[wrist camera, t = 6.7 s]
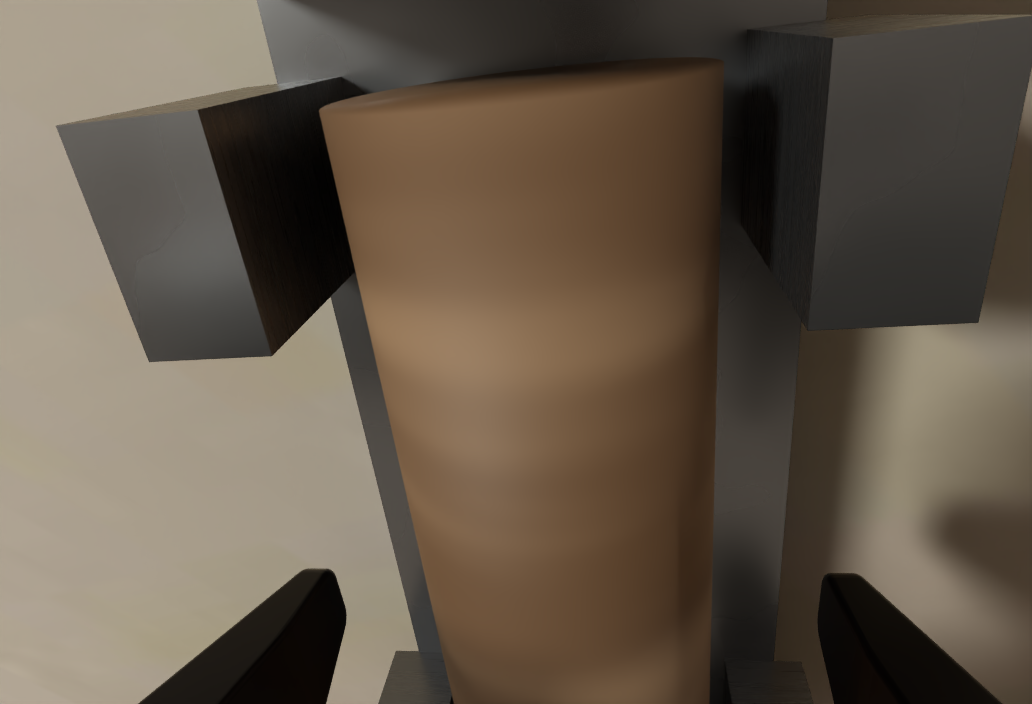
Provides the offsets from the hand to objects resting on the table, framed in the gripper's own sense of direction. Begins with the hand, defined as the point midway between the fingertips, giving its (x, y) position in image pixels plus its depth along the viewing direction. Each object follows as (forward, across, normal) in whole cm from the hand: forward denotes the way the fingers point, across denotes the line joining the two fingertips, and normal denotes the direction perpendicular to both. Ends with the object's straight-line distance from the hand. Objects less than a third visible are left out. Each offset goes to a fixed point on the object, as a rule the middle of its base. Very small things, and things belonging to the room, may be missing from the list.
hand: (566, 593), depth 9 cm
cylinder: (+2, 0, 0) cm, 2 cm away
